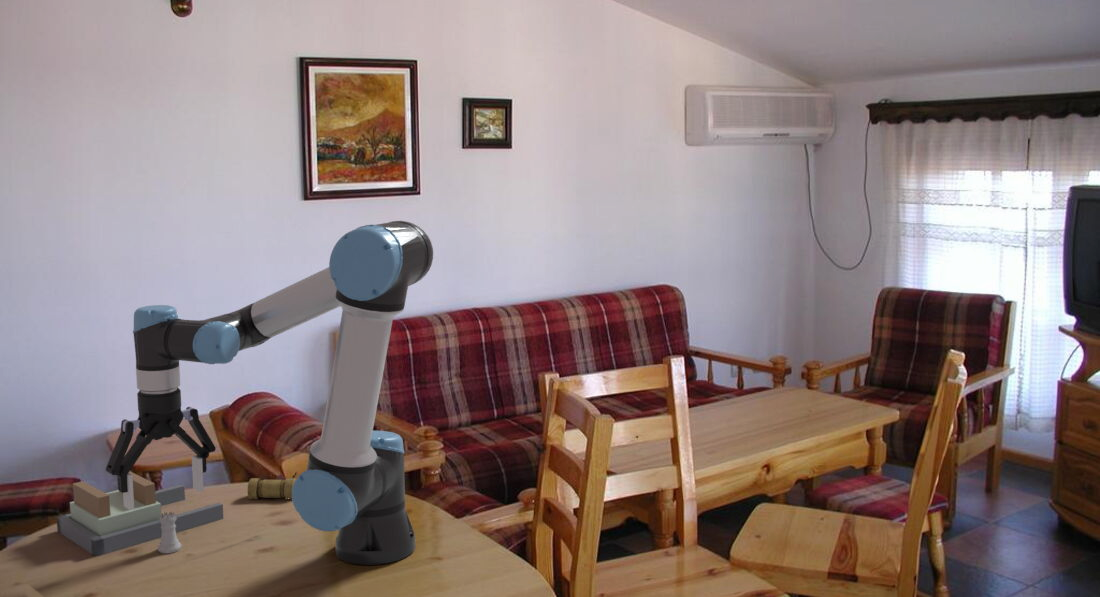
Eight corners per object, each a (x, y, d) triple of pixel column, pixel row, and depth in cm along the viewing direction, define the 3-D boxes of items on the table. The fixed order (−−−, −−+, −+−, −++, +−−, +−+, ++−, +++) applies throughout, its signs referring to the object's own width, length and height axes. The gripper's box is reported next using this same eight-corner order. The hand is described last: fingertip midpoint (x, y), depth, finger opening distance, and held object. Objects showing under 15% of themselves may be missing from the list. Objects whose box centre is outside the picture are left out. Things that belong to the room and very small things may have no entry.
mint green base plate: (162, 532, 199) (159, 484, 198) (101, 550, 191) (98, 500, 189) (131, 514, 209) (128, 468, 207) (72, 531, 200) (68, 483, 199)
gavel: (274, 457, 240) (316, 457, 240) (274, 476, 240) (316, 476, 240) (246, 481, 219) (292, 481, 219) (247, 501, 219) (293, 502, 219)
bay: (223, 523, 207) (222, 504, 206) (96, 561, 188) (94, 541, 187) (181, 502, 219) (180, 484, 218) (58, 536, 200) (56, 517, 200)
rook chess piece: (187, 551, 193) (185, 511, 191) (171, 560, 188) (169, 519, 187) (168, 548, 194) (165, 508, 193) (152, 557, 190) (149, 517, 189)
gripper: (211, 374, 198) (215, 478, 201) (81, 397, 180) (89, 510, 183) (230, 381, 193) (235, 487, 196) (99, 405, 175) (106, 521, 178)
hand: (164, 498), depth 190 cm, fingers open, 13 cm apart
